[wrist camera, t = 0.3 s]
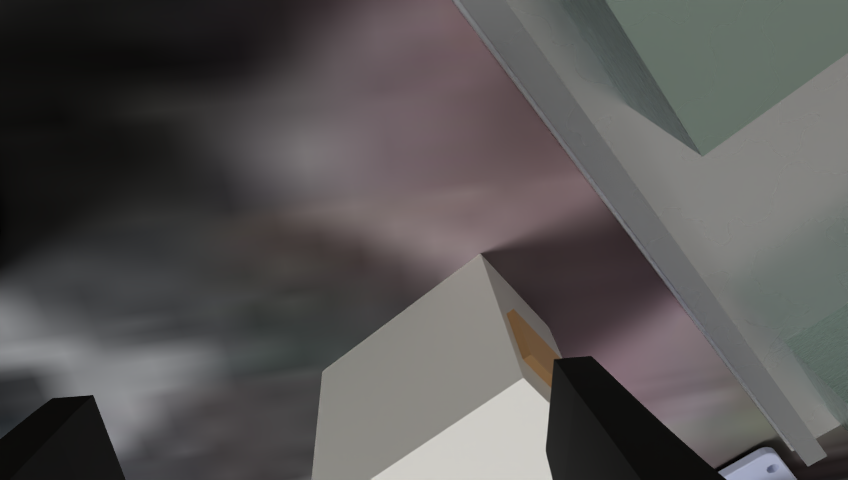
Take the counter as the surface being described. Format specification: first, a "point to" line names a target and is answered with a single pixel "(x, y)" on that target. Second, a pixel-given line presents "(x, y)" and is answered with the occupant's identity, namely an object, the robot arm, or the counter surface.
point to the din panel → (712, 168)
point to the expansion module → (443, 390)
